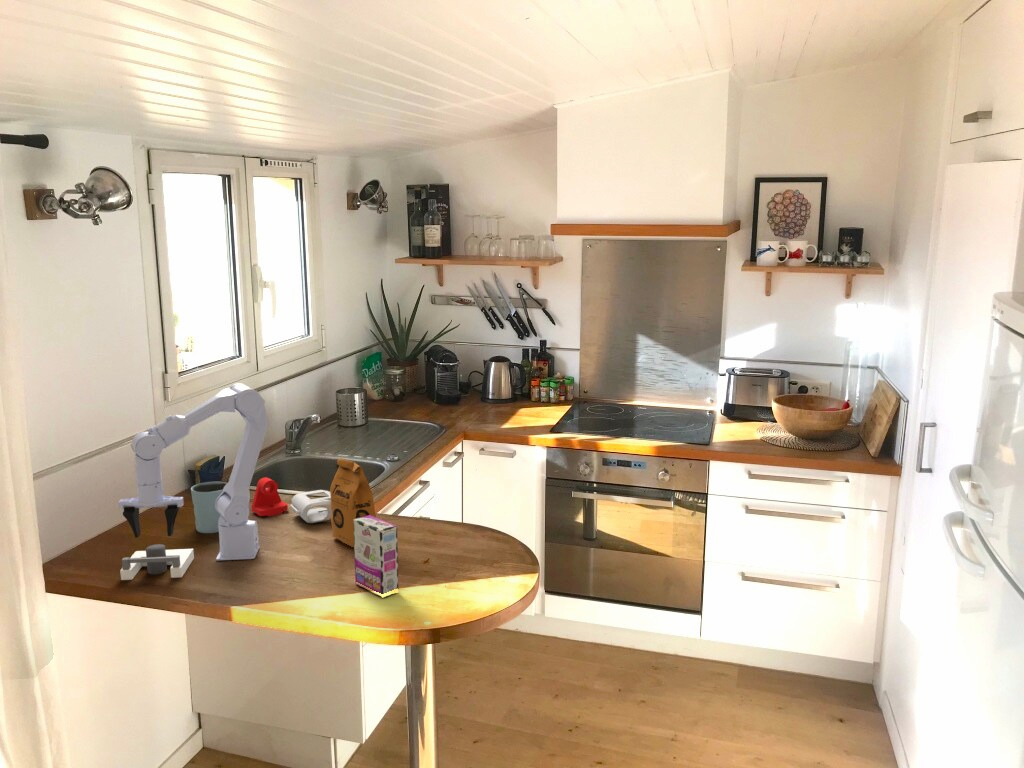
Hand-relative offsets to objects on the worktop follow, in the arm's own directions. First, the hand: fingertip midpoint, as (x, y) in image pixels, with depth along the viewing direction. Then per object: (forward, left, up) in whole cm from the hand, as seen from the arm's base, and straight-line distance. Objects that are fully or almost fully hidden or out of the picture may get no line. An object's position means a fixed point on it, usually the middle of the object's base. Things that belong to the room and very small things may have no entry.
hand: (154, 535), depth 206 cm
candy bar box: (-54, +17, -10) cm, 57 cm away
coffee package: (-47, -14, -10) cm, 50 cm away
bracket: (-21, -40, -10) cm, 47 cm away
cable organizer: (-35, -33, -10) cm, 49 cm away
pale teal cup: (-7, -29, -10) cm, 32 cm away
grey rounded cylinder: (0, 0, -9) cm, 9 cm away
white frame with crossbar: (0, -1, -9) cm, 9 cm away
